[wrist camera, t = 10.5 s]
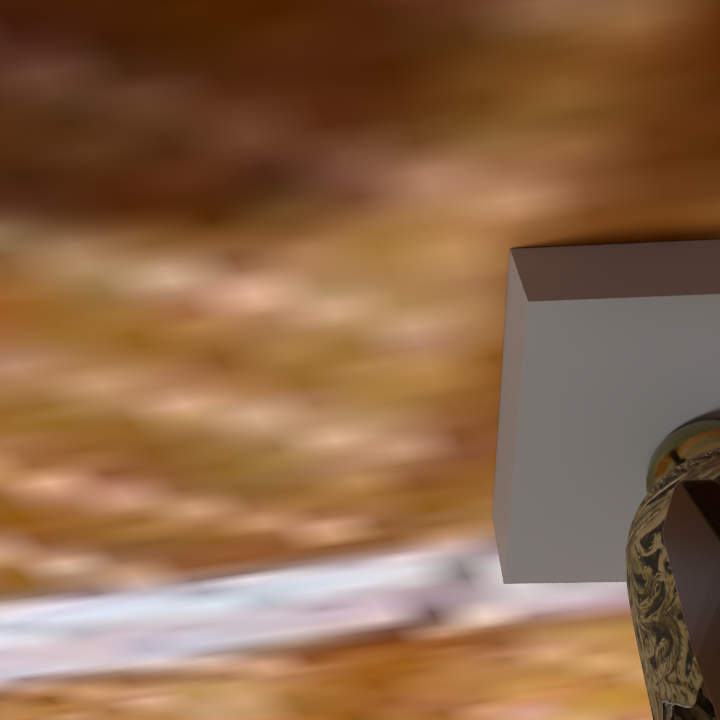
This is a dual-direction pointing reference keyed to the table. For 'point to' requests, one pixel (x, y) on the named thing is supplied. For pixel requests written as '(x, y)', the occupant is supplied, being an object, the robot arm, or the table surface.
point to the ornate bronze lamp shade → (668, 577)
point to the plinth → (596, 395)
